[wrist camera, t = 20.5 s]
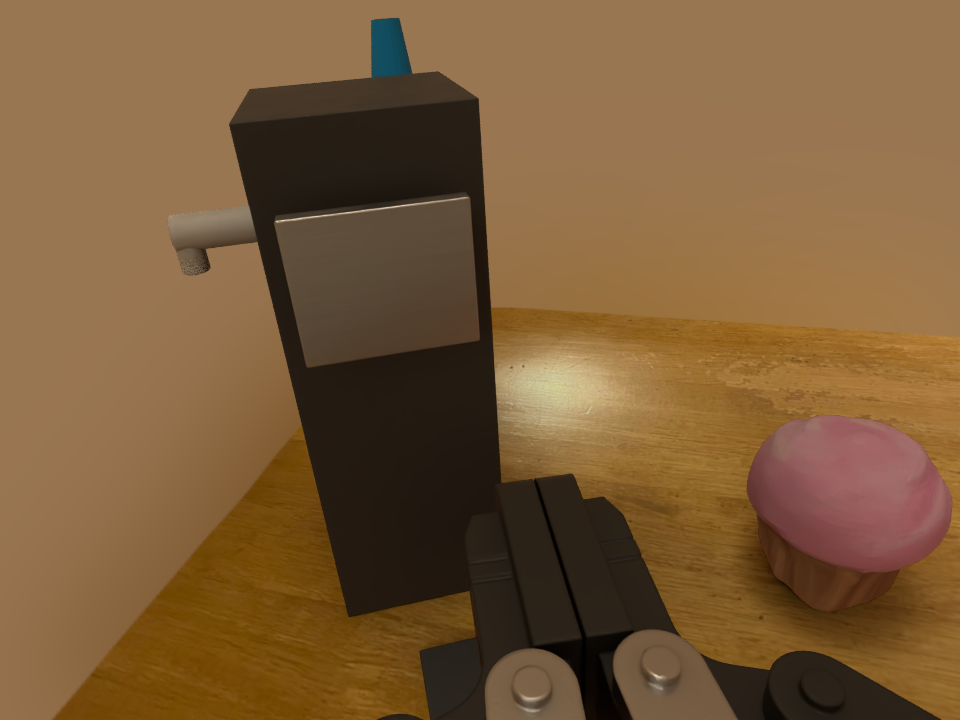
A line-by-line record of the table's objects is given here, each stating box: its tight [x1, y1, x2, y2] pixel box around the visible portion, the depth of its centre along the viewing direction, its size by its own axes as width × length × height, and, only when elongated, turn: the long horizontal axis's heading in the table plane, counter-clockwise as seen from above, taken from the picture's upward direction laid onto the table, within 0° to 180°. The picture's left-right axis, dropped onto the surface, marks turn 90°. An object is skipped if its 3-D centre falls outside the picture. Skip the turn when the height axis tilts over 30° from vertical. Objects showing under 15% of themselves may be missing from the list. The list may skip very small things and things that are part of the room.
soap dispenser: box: [168, 72, 501, 617], centre depth 34 cm, size 13×9×26 cm
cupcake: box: [747, 415, 952, 612], centre depth 34 cm, size 9×9×10 cm
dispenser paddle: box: [274, 192, 480, 368], centre depth 25 cm, size 7×1×6 cm, turn 102°
